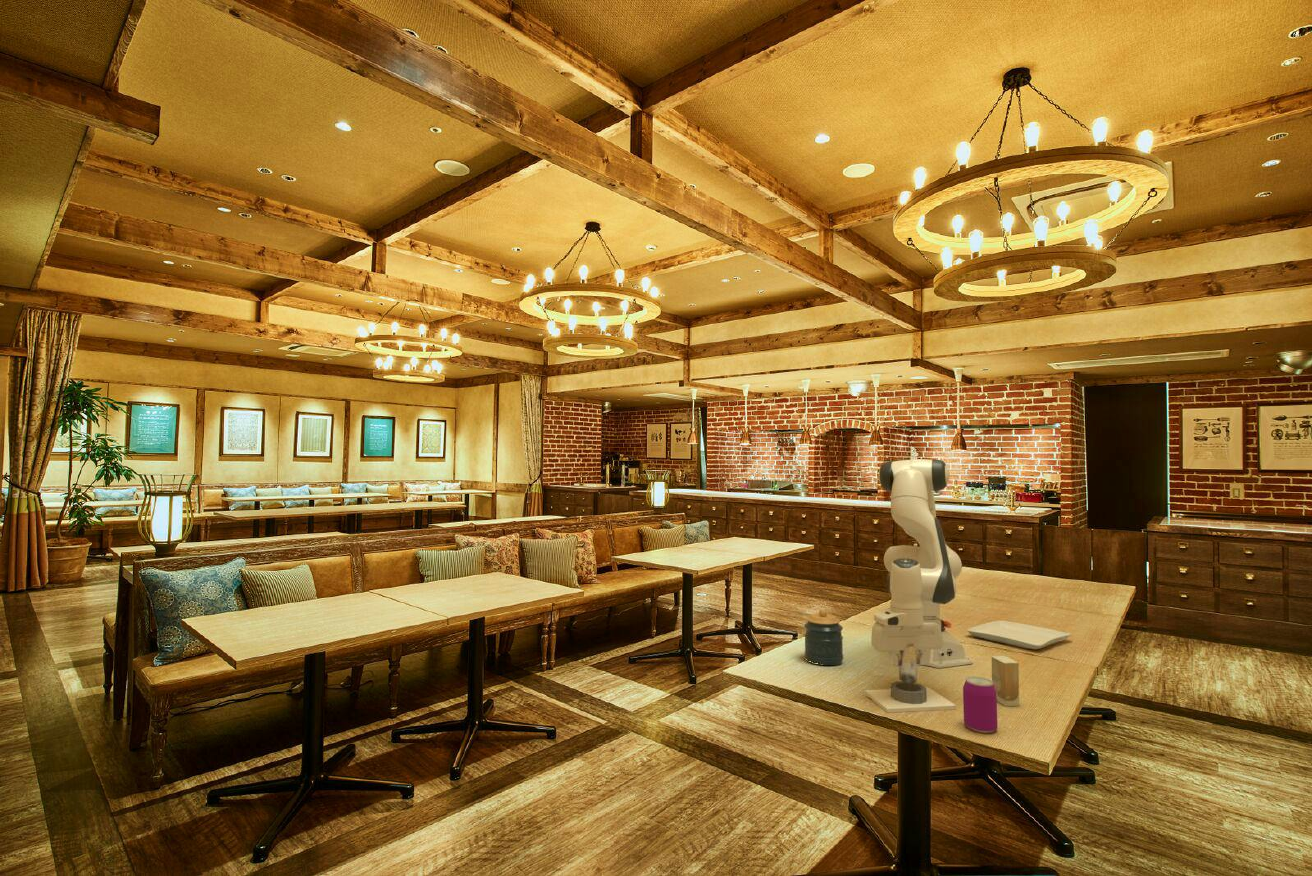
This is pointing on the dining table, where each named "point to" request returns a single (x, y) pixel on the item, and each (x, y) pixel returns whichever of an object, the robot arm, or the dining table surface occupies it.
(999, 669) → the skincare box
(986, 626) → the square plate
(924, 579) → the robot arm
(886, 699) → the ring block
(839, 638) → the canister
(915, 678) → the cylinder
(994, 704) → the beverage can
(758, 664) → the dining table surface
